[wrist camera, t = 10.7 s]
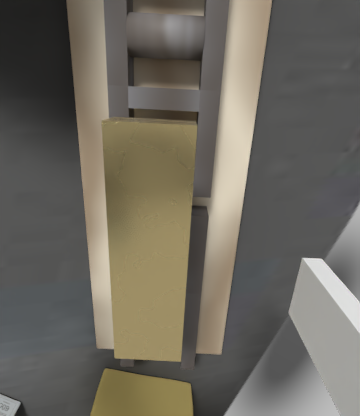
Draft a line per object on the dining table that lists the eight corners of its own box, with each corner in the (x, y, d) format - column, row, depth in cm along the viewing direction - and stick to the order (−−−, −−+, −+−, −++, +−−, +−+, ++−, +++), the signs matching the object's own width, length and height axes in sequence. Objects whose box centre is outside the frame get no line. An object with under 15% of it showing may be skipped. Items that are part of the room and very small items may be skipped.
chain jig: (101, 335, 28) (89, 369, 25) (69, -79, 16) (37, -128, 13) (219, 341, 28) (224, 375, 25) (275, -68, 16) (300, -113, 13)
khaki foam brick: (140, 262, 23) (114, 358, 15) (139, 109, 18) (101, 120, 10) (182, 264, 23) (180, 361, 15) (191, 112, 18) (197, 125, 10)
